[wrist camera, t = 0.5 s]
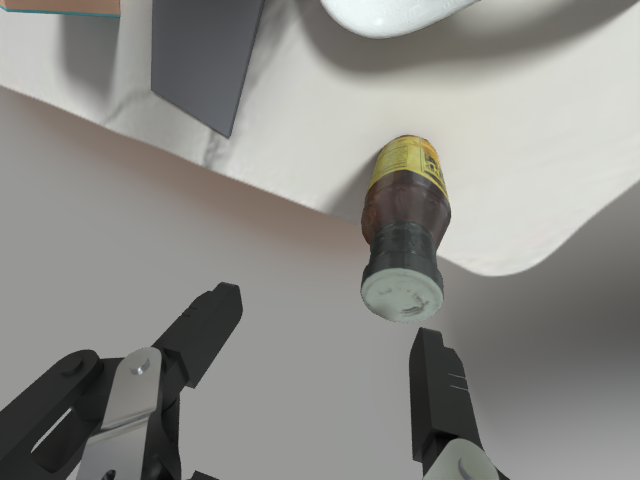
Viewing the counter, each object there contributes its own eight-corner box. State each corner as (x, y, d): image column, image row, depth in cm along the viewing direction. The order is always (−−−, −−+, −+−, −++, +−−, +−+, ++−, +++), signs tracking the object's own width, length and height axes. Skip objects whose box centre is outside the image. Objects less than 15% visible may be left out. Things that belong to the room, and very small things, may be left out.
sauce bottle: (437, 183, 29) (469, 349, 14) (380, 190, 31) (354, 338, 16) (437, 121, 25) (479, 256, 10) (372, 134, 27) (328, 259, 12)
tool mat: (161, -158, 19) (155, -162, 18) (281, -69, 20) (278, -71, 19) (154, 89, 30) (151, 90, 30) (230, 135, 32) (227, 137, 31)
